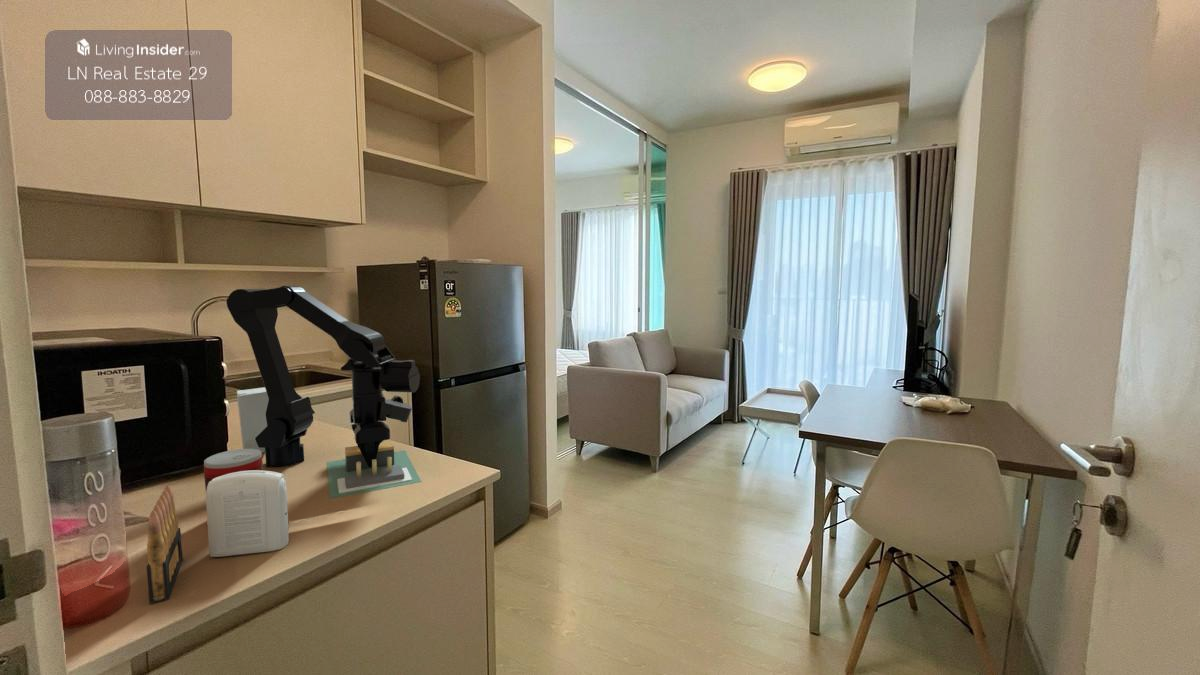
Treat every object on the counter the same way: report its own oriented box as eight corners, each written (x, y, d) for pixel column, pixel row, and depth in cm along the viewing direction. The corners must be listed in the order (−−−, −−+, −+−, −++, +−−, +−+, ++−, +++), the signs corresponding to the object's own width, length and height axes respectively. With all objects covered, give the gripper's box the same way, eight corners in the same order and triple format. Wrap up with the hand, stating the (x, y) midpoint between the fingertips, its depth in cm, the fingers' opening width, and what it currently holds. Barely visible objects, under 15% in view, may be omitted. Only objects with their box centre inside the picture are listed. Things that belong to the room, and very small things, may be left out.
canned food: (275, 510, 86) (272, 451, 85) (228, 532, 79) (224, 467, 78) (245, 503, 89) (241, 445, 88) (197, 523, 81) (192, 460, 80)
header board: (330, 506, 88) (329, 476, 88) (327, 468, 105) (326, 443, 105) (421, 488, 97) (421, 461, 96) (405, 456, 114) (404, 433, 113)
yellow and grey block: (346, 472, 100) (346, 453, 100) (345, 465, 104) (344, 447, 103) (394, 464, 105) (393, 446, 104) (391, 458, 108) (391, 441, 108)
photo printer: (293, 537, 78) (289, 463, 76) (284, 551, 74) (280, 474, 72) (217, 546, 75) (212, 469, 73) (204, 561, 71) (197, 480, 69)
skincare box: (281, 443, 121) (278, 384, 119) (285, 449, 116) (281, 389, 114) (240, 449, 115) (236, 389, 114) (241, 457, 111) (237, 394, 109)
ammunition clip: (166, 562, 70) (159, 484, 69) (183, 559, 71) (176, 481, 70) (149, 605, 61) (141, 515, 60) (168, 600, 62) (161, 511, 61)
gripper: (415, 396, 98) (417, 470, 100) (401, 379, 114) (402, 443, 116) (354, 402, 93) (357, 480, 95) (348, 383, 109) (350, 450, 111)
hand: (369, 461), depth 104 cm, fingers open, 6 cm apart
